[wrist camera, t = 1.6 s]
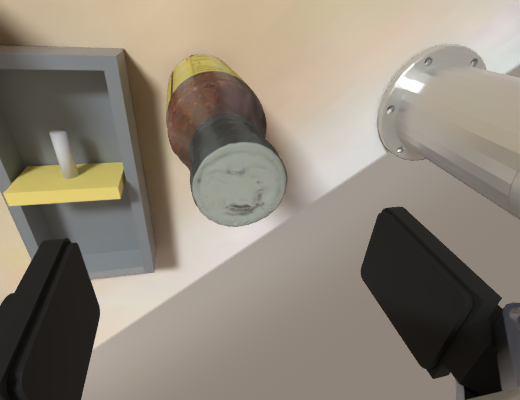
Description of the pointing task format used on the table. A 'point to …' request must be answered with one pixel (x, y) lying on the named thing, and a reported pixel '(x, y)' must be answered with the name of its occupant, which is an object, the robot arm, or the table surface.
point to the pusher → (66, 179)
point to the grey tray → (76, 151)
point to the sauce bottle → (223, 142)
